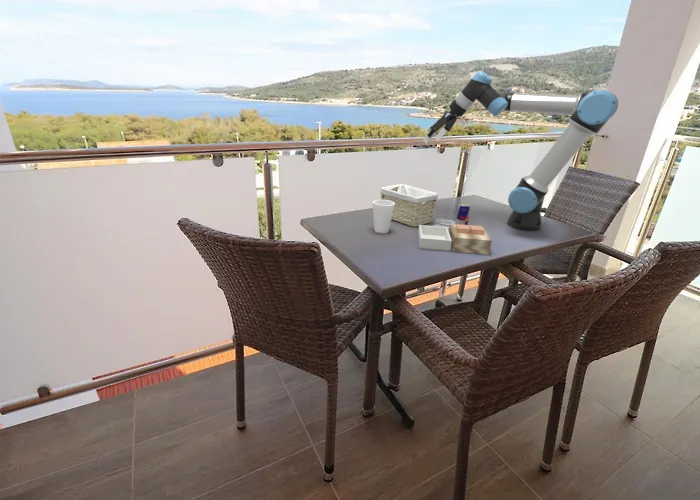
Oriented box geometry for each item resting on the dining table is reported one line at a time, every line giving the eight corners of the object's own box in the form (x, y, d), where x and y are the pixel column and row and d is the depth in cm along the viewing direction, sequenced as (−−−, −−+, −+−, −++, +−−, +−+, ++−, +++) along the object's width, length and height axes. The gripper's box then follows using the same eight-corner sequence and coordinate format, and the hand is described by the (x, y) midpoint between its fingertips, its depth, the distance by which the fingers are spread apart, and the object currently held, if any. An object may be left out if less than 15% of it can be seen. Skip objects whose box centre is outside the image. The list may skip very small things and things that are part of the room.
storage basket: (376, 215, 186) (379, 186, 180) (398, 210, 196) (401, 182, 190) (414, 229, 170) (417, 197, 164) (435, 222, 180) (439, 192, 174)
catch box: (445, 236, 162) (447, 227, 160) (450, 251, 147) (451, 240, 146) (417, 234, 163) (419, 224, 161) (419, 248, 149) (420, 238, 147)
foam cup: (395, 229, 168) (397, 201, 163) (388, 236, 160) (390, 207, 155) (375, 225, 171) (377, 198, 166) (367, 232, 164) (369, 203, 158)
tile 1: (467, 229, 154) (468, 225, 153) (469, 233, 149) (470, 229, 149) (455, 228, 154) (456, 224, 154) (456, 232, 150) (457, 228, 149)
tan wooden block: (480, 239, 161) (483, 226, 158) (488, 254, 146) (491, 240, 144) (447, 237, 162) (450, 224, 160) (452, 251, 147) (454, 237, 145)
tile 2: (481, 230, 153) (482, 226, 153) (483, 235, 149) (484, 230, 148) (468, 229, 154) (469, 225, 153) (470, 234, 149) (471, 229, 148)
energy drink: (460, 232, 168) (464, 207, 163) (452, 228, 172) (456, 203, 168) (469, 231, 170) (473, 205, 166) (460, 227, 175) (465, 202, 170)
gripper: (465, 99, 178) (436, 133, 192) (444, 98, 160) (414, 137, 173) (475, 109, 177) (445, 143, 190) (456, 110, 158) (424, 148, 172)
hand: (430, 140), depth 182 cm, fingers open, 13 cm apart
